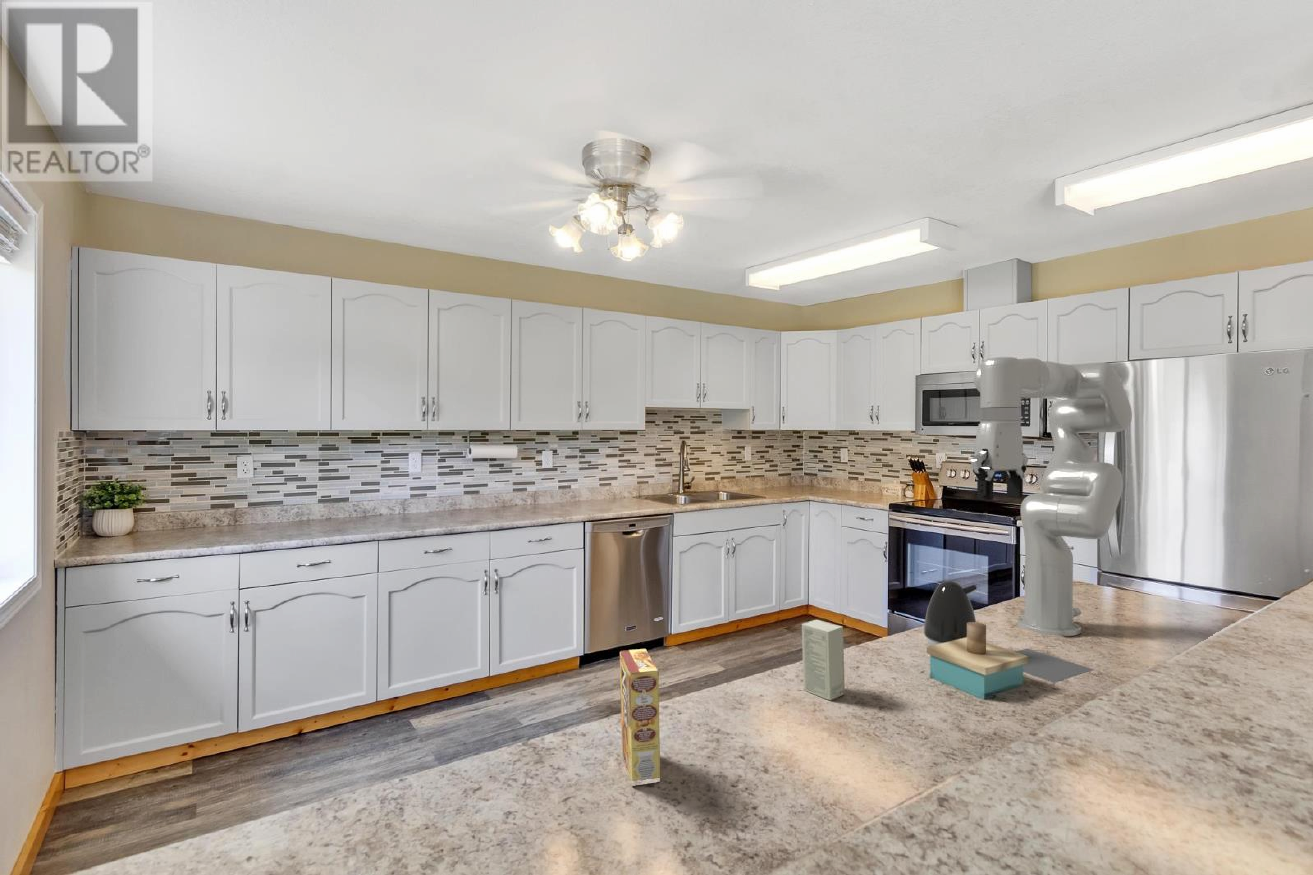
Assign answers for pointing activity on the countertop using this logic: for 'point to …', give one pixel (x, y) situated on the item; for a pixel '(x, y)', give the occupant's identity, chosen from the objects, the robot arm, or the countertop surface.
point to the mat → (1050, 666)
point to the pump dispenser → (948, 613)
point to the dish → (975, 678)
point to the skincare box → (823, 659)
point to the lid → (977, 652)
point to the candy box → (640, 714)
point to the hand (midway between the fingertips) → (1000, 498)
